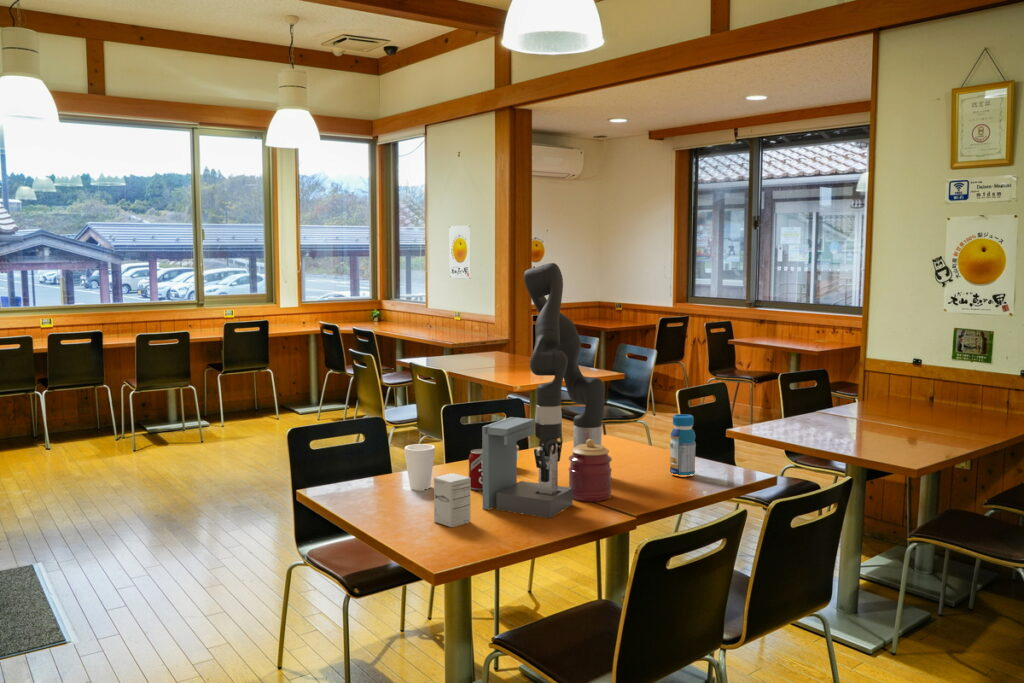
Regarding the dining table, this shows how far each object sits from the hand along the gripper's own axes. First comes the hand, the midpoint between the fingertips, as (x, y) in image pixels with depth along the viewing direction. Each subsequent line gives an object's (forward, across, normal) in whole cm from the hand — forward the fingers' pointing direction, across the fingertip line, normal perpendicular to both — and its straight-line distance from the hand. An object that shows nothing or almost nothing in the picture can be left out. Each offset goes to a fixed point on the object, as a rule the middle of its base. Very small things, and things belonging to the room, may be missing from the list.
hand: (548, 479), depth 239 cm
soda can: (+9, -10, -29) cm, 32 cm away
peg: (+4, 0, 0) cm, 4 cm away
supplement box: (+9, +23, -18) cm, 30 cm away
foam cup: (+9, -2, -46) cm, 47 cm away
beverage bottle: (+9, -56, +22) cm, 61 cm away
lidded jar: (+9, -36, -35) cm, 51 cm away
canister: (+9, -18, +5) cm, 21 cm away
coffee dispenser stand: (+9, 0, -13) cm, 15 cm away
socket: (+9, 0, -4) cm, 10 cm away
